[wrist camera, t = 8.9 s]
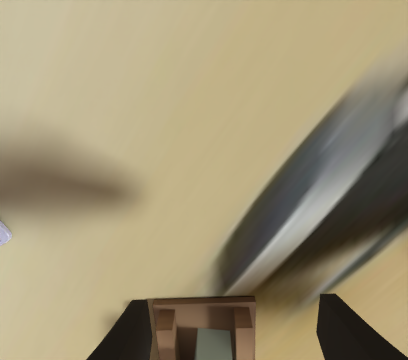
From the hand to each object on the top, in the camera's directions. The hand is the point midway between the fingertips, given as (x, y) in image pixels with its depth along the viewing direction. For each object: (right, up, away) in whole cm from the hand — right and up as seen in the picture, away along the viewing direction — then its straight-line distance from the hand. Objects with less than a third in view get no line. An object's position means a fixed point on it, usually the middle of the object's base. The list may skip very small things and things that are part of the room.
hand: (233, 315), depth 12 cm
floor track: (-1, -10, +14) cm, 17 cm away
